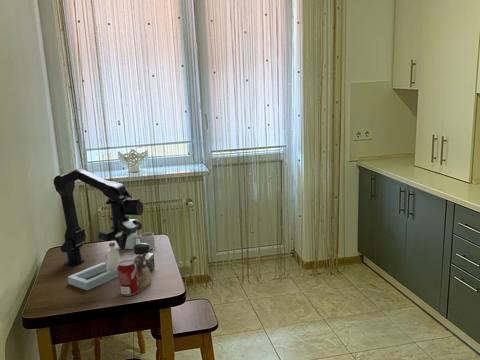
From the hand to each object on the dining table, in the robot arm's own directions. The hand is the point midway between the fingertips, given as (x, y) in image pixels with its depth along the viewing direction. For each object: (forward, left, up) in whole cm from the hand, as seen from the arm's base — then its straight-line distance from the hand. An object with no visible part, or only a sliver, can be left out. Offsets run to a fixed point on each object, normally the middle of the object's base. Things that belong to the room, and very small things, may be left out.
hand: (122, 250), depth 202 cm
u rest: (0, -14, -7) cm, 16 cm away
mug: (-10, +20, -8) cm, 23 cm away
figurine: (+20, -8, -8) cm, 23 cm away
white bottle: (0, -5, -8) cm, 9 cm away
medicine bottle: (+12, 0, -8) cm, 14 cm away
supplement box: (-18, +18, -8) cm, 27 cm away
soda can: (+22, -16, -8) cm, 28 cm away
